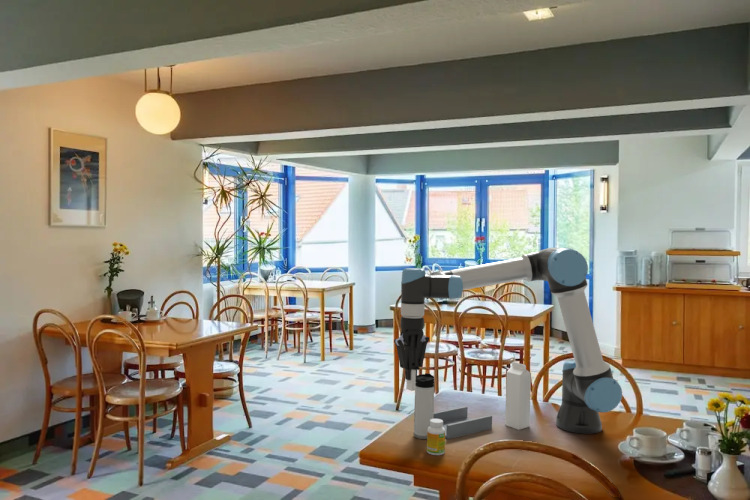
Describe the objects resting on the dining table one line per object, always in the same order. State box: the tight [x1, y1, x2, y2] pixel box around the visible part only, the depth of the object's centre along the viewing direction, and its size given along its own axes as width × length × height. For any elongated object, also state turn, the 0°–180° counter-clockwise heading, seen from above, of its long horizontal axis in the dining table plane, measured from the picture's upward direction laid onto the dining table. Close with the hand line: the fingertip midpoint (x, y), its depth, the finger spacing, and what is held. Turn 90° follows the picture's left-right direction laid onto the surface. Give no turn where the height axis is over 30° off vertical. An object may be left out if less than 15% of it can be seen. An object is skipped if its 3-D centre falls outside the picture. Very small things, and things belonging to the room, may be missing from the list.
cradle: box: [433, 405, 493, 440], centre depth 197 cm, size 13×20×4 cm, turn 125°
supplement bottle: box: [426, 419, 446, 456], centre depth 174 cm, size 5×5×10 cm
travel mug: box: [413, 373, 435, 440], centre depth 188 cm, size 6×7×20 cm
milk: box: [504, 361, 532, 430], centre depth 201 cm, size 6×6×22 cm
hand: (410, 389), depth 185 cm, fingers closed
